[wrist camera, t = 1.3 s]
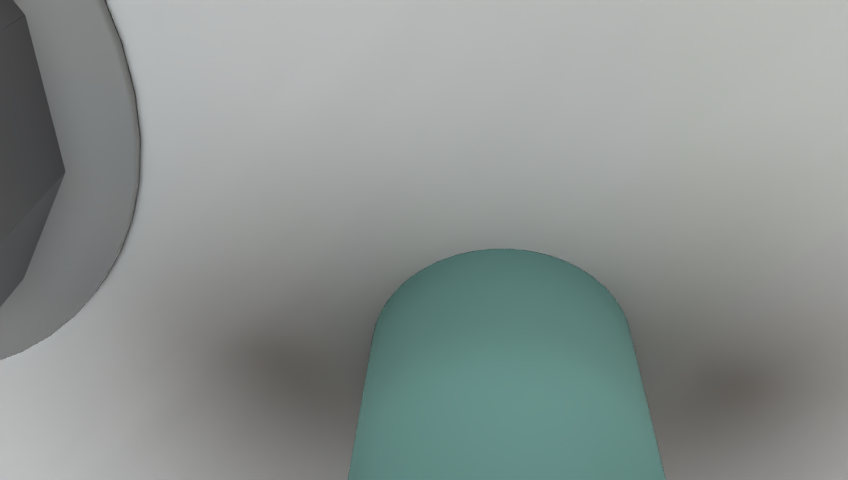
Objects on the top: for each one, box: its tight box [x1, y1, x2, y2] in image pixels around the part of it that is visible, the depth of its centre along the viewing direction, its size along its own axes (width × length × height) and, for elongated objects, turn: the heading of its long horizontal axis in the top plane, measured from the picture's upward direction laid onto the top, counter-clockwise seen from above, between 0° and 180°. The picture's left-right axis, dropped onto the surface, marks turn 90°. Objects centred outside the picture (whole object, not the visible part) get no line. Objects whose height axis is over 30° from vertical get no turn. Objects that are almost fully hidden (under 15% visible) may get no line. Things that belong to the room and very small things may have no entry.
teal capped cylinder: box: [348, 249, 666, 480], centre depth 13 cm, size 5×5×5 cm
